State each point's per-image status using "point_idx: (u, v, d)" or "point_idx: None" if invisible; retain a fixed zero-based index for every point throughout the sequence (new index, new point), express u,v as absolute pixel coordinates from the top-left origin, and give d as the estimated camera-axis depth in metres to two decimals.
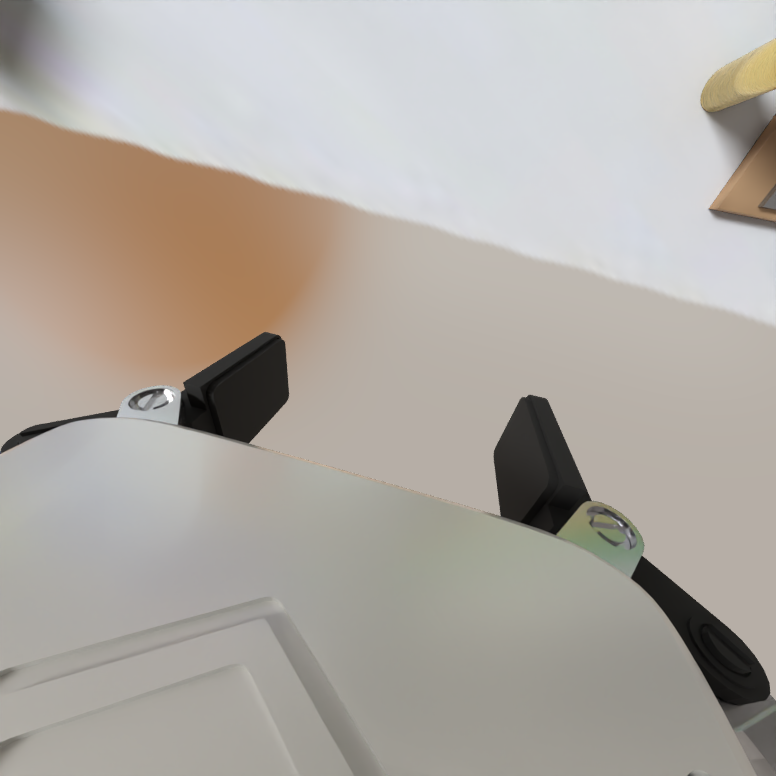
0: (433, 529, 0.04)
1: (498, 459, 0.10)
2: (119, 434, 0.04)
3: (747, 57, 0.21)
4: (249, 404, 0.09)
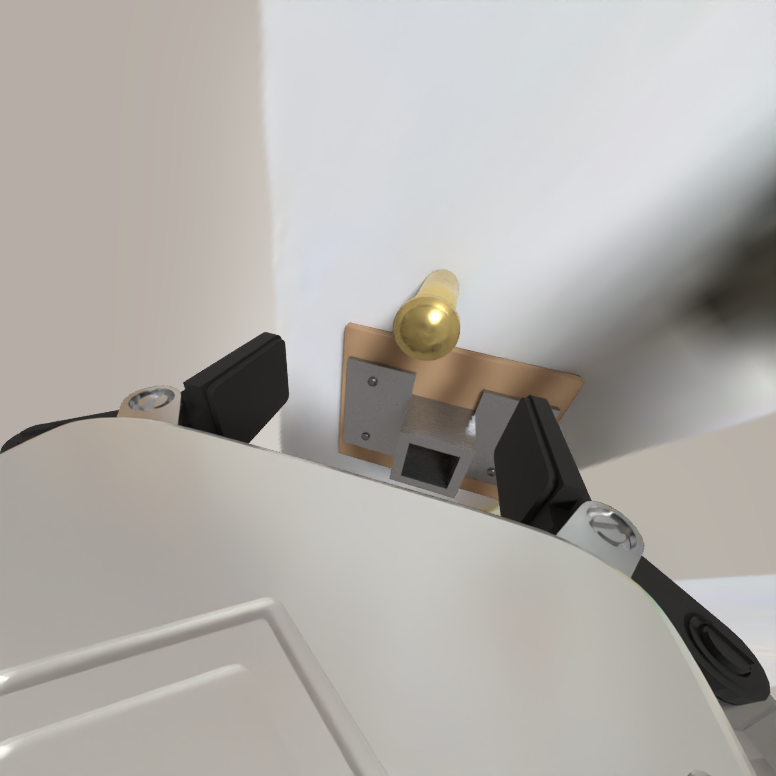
0: (433, 528, 0.04)
1: (498, 459, 0.10)
2: (119, 435, 0.04)
3: (448, 282, 0.20)
4: (249, 404, 0.09)
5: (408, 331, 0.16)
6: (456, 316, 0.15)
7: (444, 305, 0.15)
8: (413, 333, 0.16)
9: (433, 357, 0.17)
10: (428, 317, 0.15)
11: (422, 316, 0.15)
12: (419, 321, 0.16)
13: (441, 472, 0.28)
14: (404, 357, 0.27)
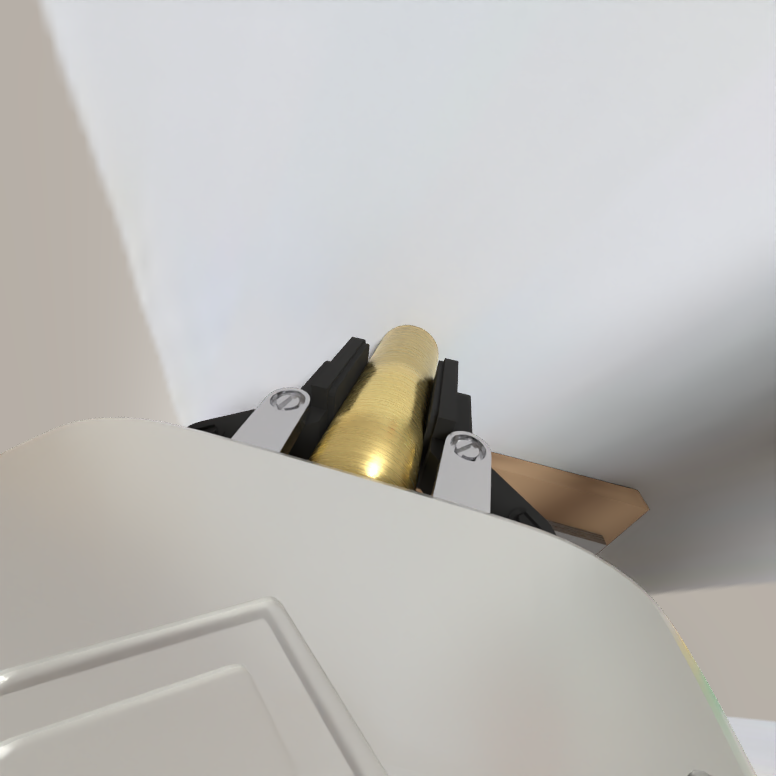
0: (433, 528, 0.04)
1: None
2: (119, 435, 0.04)
3: (413, 365, 0.10)
4: None
5: None
6: None
7: None
8: None
9: None
10: None
11: None
12: None
13: None
14: None
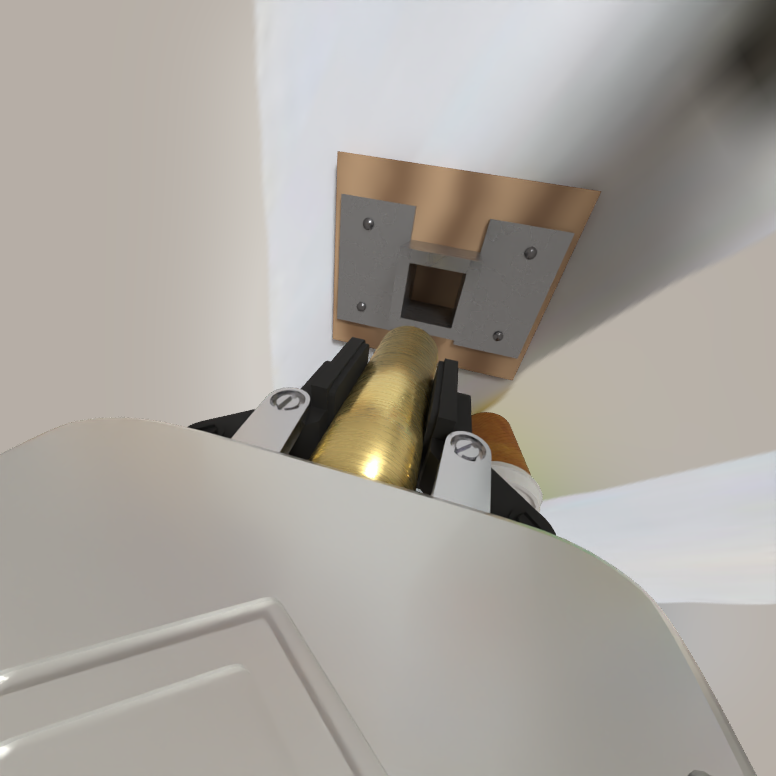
0: (433, 528, 0.04)
1: None
2: (119, 435, 0.04)
3: (413, 366, 0.10)
4: None
5: None
6: None
7: None
8: None
9: None
10: None
11: None
12: None
13: (444, 320, 0.26)
14: (403, 186, 0.25)
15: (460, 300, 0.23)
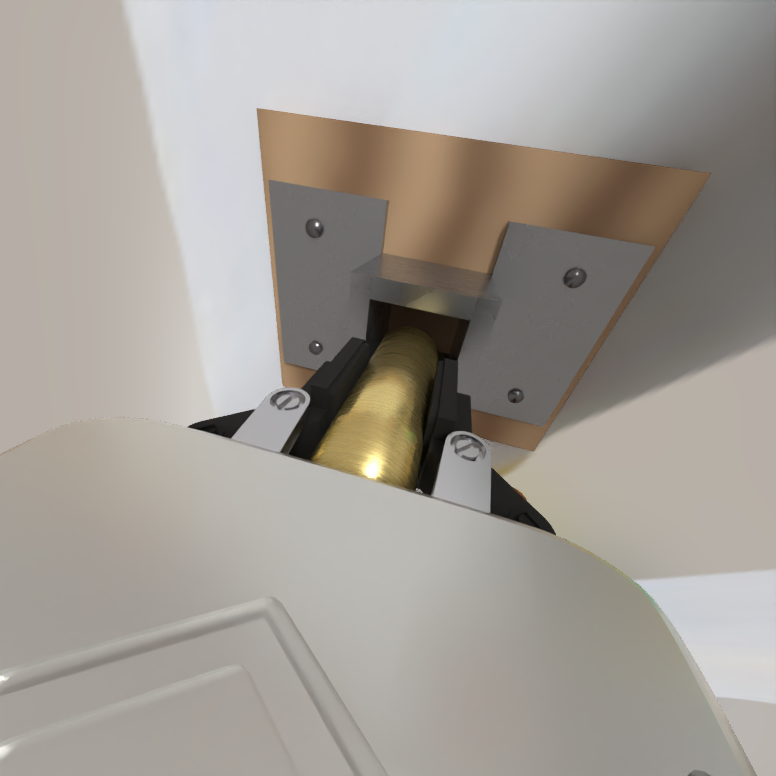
0: (433, 528, 0.04)
1: None
2: (119, 434, 0.04)
3: (413, 366, 0.10)
4: None
5: None
6: None
7: None
8: None
9: None
10: None
11: None
12: None
13: None
14: (365, 167, 0.15)
15: (459, 362, 0.13)
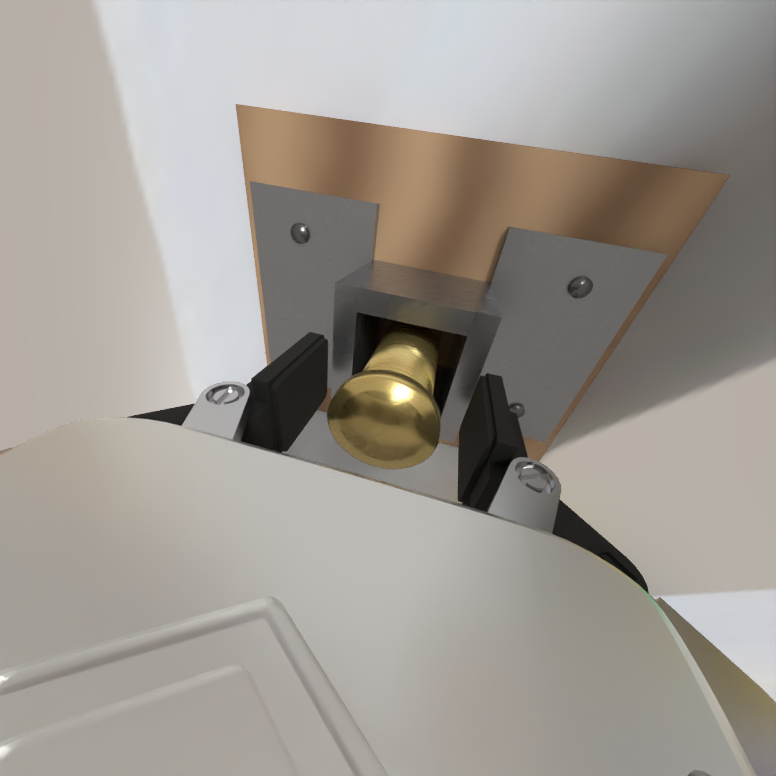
0: (433, 529, 0.04)
1: (461, 434, 0.11)
2: (119, 435, 0.04)
3: None
4: (300, 400, 0.10)
5: (353, 427, 0.09)
6: (433, 410, 0.08)
7: (410, 393, 0.08)
8: (361, 430, 0.09)
9: (398, 465, 0.10)
10: (384, 409, 0.09)
11: (373, 407, 0.09)
12: (369, 414, 0.09)
13: None
14: (354, 168, 0.14)
15: (455, 380, 0.12)
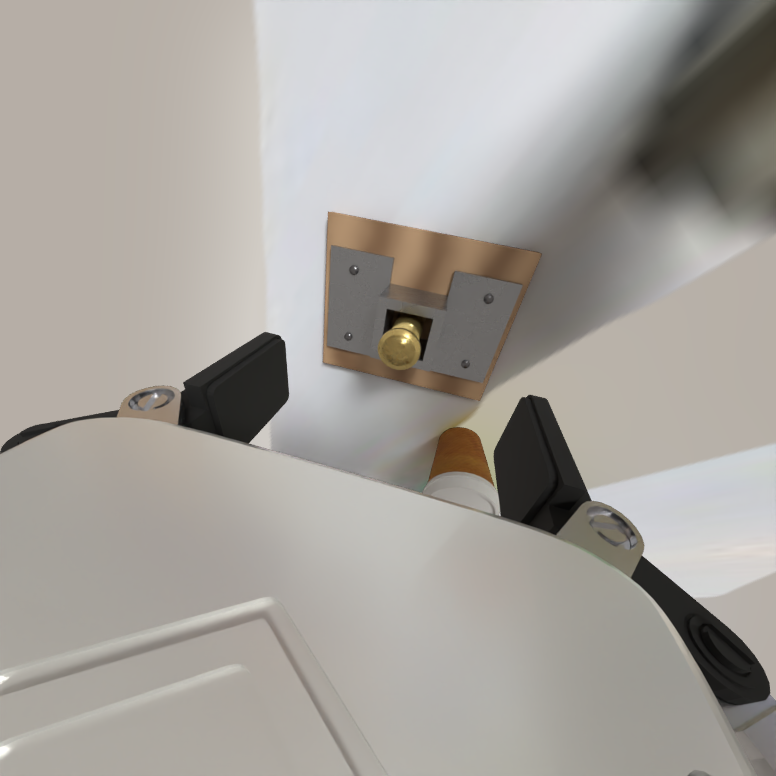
0: (433, 529, 0.04)
1: (498, 459, 0.10)
2: (119, 435, 0.04)
3: (416, 315, 0.29)
4: (249, 404, 0.09)
5: (387, 351, 0.25)
6: (417, 342, 0.24)
7: (409, 335, 0.24)
8: (390, 352, 0.25)
9: (404, 367, 0.25)
10: (400, 342, 0.24)
11: (396, 341, 0.24)
12: (394, 344, 0.24)
13: None
14: (383, 241, 0.29)
15: (429, 339, 0.28)
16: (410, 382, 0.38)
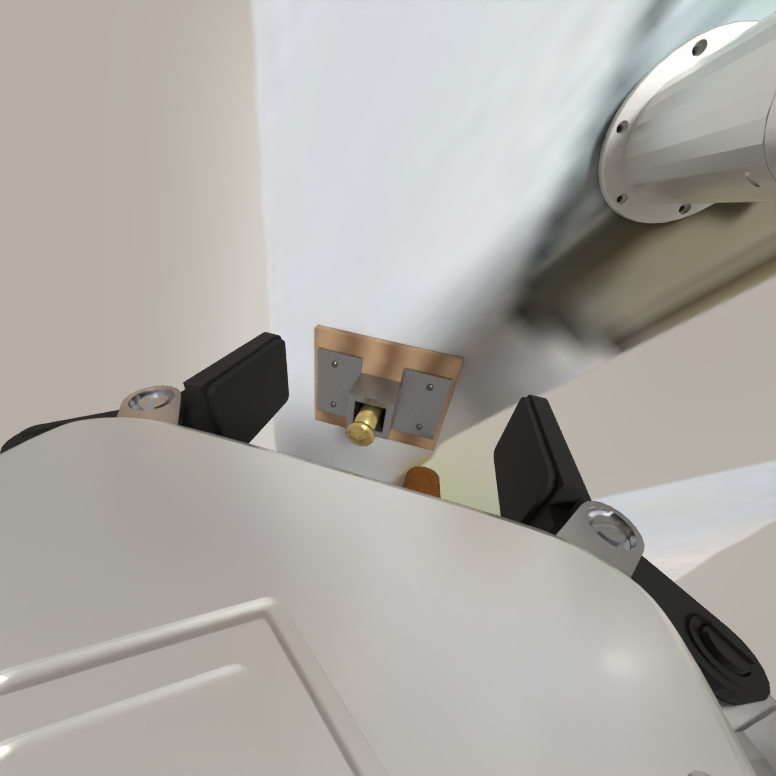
0: (432, 528, 0.04)
1: (498, 459, 0.10)
2: (119, 435, 0.04)
3: None
4: (249, 404, 0.09)
5: (352, 435, 0.37)
6: (371, 431, 0.36)
7: (365, 427, 0.36)
8: (354, 435, 0.37)
9: (364, 445, 0.38)
10: (360, 431, 0.36)
11: (357, 430, 0.36)
12: (356, 431, 0.37)
13: (380, 424, 0.43)
14: (354, 347, 0.41)
15: (385, 420, 0.40)
16: None
